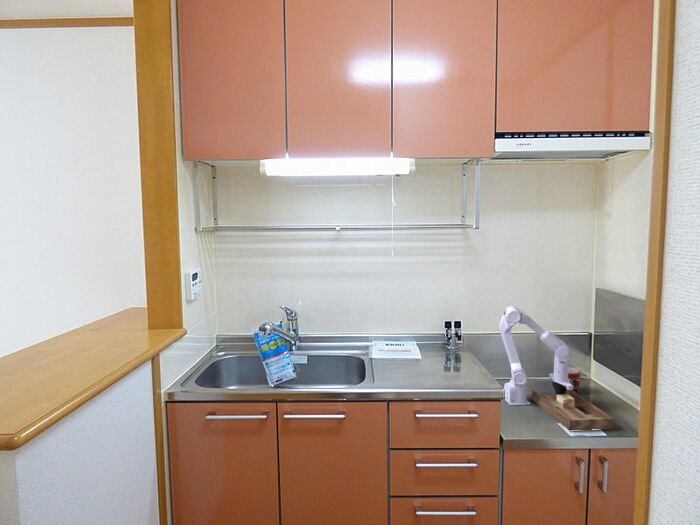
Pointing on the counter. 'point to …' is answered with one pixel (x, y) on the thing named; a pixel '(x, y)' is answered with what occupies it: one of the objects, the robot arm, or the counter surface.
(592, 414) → the trough
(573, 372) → the canned food
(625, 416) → the counter surface
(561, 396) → the block
